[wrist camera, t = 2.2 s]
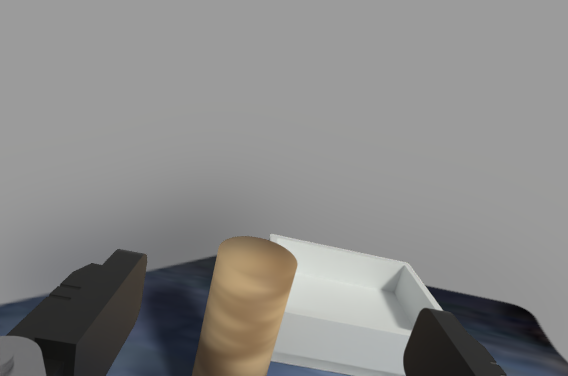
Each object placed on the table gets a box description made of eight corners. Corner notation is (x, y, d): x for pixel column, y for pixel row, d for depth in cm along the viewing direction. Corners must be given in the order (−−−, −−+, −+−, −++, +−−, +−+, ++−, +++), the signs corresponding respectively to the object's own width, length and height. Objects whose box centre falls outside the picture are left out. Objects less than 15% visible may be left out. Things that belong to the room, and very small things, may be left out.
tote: (255, 358, 30) (268, 308, 29) (261, 269, 44) (270, 233, 43) (448, 392, 32) (469, 347, 31) (395, 296, 46) (408, 262, 45)
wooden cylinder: (178, 429, 23) (212, 267, 20) (194, 369, 28) (224, 230, 24) (254, 441, 23) (300, 285, 20) (257, 380, 28) (295, 245, 25)
